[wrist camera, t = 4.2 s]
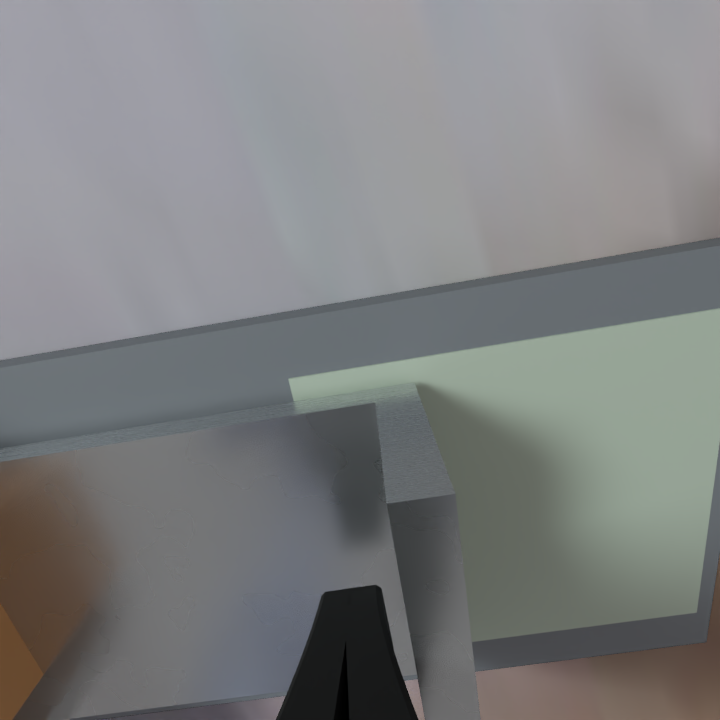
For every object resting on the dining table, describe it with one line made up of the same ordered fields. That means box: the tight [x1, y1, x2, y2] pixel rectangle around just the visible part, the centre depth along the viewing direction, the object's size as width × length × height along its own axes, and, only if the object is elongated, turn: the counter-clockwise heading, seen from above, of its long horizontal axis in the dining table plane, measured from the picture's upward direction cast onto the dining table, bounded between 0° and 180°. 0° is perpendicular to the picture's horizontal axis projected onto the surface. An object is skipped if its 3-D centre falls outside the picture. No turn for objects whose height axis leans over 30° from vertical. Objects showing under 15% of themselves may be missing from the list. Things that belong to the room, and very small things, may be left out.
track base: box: [0, 238, 720, 720], centre depth 13 cm, size 13×38×1 cm, turn 100°
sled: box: [0, 382, 480, 720], centre depth 10 cm, size 9×19×4 cm, turn 100°
